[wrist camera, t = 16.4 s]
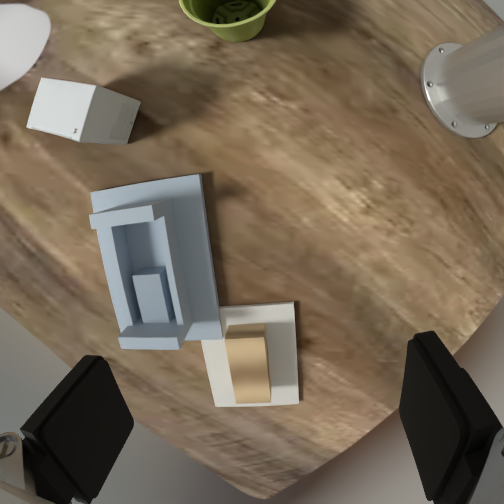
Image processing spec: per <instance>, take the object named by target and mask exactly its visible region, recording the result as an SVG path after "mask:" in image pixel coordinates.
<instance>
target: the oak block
mask: <svg viewBox="0 0 504 504" xmlns="http://www.w3.org/2000/svg"><path fill="white" fill-rule="evenodd" d="M224 340H225V346H226V351H227V357H228V363H229V368H230V374H231V379H232V385H233V390H234V395H235V401H236V404H248V403H271V390H272V385H271V375H270V366H269V356H268V347H267V337H266V328H265V323H255V324H239V325H228V328H227V332H226V335H225V339H224Z"/></svg>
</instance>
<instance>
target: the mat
mask: <svg viewBox="0 0 504 504" xmlns="http://www.w3.org/2000/svg"><path fill="white" fill-rule="evenodd" d="M219 312H220V319H221V325H222V331H223V339H220V340H201V342H202V347H203V352H204V357H205V362H206V366H207V371H208V375H209V380H210V384H211V389H212V393H213V397H214V402H215V406H216V407H242V406H270V405H287V404H299V394H298V370H297V350H296V332H295V315H294V301H291V302H279V303H265V304H251V305H236V306H220V307H219ZM255 323H265V328H266V337H267V347H268V356H269V366H270V375H271V385H272V390H271V403H248V404H236V401H235V395H234V390H233V385H232V379H231V374H230V368H229V363H228V357H227V351H226V346H225V340H224V339H225V335H226V332H227V328H228V325H239V324H255Z"/></svg>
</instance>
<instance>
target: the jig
mask: <svg viewBox="0 0 504 504" xmlns="http://www.w3.org/2000/svg"><path fill="white" fill-rule="evenodd" d="M91 199H92V205H93V211H94V214H91V215H89V217H90V223H91V228H92V229H97V234H98V240H99V245H100V250H101V255H102V259H103V264H104V268H105V273H106V277H107V282H108V286H109V290H110V294H111V298H112V302H113V305H114V309H115V313H116V317H117V320H118V324H119V327H120V331H121V334H120V335H119V336H118V339H119V343H120V346H121V349H168V350H176V349H180V348H181V346H182V344H183V342H184V340H220V339H223V331H222V325H221V319H220V312H219V307H220V305H219V299H218V293H217V286H216V279H215V273H214V266H213V259H212V252H211V245H210V238H209V230H208V223H207V215H206V207H205V200H204V192H203V184H202V175H201V174H197V175H190V176H183V177H176V178H169V179H163V180H157V181H151V182H145V183H139V184H133V185H128V186H122V187H117V188H111V189H106V190H101V191H96V192H91Z"/></svg>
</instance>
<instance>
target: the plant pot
mask: <svg viewBox="0 0 504 504" xmlns="http://www.w3.org/2000/svg"><path fill="white" fill-rule="evenodd" d="M179 2H180V5H181V8H182V9H183V11H184V12H185V14H186V15H187V16H188V17H190V18H191V19H192V20H194V21H195V22H197V23H199V24H202V25H205V26H208V27H209V28H210V29H211V30H212V31H213V32H214V33H215V34H216V35H217V36H219V37H220V38H222V39H224V40H226V41H230V42H242V41H246V40H249V39H251V38H253V37H254V36H255V35H256V34H258V33H259V31H260V30H261V29H262V27H263V25H264V21H265V17H266V14H267V12H268V11H269V10H270V9H271V8H272V6H273V5H274V4H275V2H276V0H179ZM237 3H240V4H242V5H241V6H231V5H233V4H237ZM256 14H257V15H256ZM217 18H219V24H216V19H217ZM236 18H239V21H236Z"/></svg>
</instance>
